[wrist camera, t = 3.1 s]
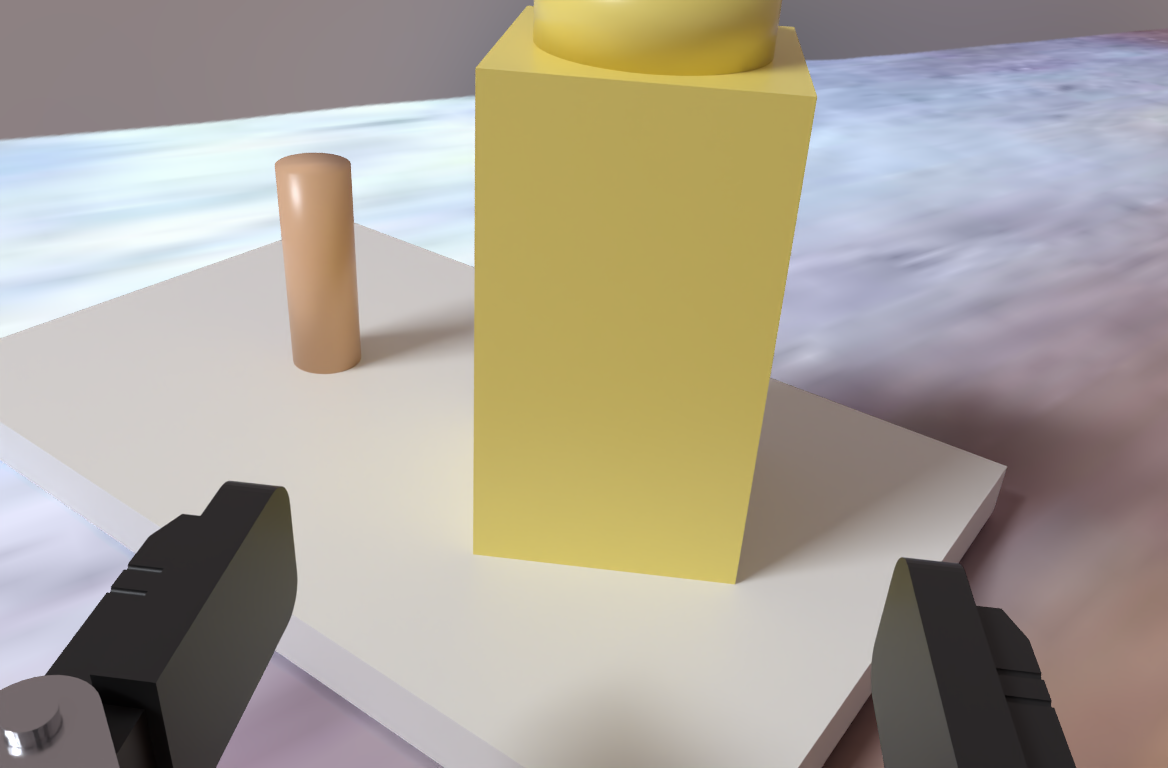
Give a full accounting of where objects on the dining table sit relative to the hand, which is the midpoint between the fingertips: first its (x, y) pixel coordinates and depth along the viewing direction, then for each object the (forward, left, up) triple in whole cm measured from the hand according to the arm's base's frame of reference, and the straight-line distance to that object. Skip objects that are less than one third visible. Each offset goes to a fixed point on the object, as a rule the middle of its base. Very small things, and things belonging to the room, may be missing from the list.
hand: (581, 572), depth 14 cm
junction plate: (-9, -11, -8) cm, 16 cm away
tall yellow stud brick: (-9, -5, -7) cm, 13 cm away
